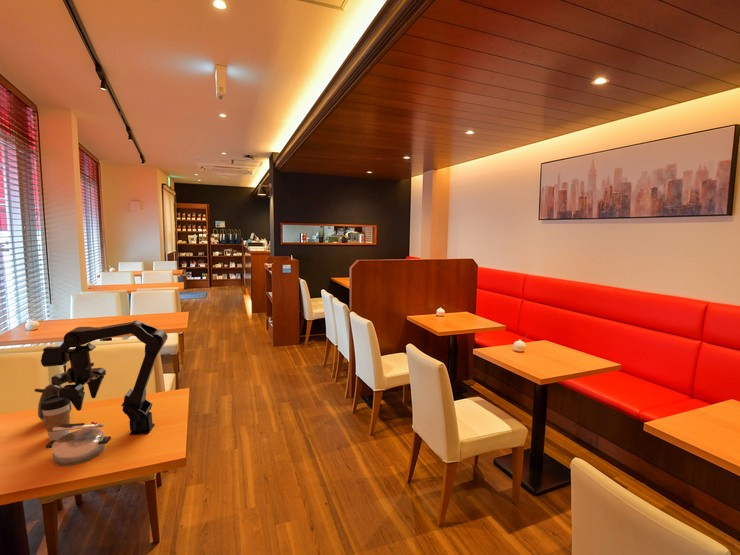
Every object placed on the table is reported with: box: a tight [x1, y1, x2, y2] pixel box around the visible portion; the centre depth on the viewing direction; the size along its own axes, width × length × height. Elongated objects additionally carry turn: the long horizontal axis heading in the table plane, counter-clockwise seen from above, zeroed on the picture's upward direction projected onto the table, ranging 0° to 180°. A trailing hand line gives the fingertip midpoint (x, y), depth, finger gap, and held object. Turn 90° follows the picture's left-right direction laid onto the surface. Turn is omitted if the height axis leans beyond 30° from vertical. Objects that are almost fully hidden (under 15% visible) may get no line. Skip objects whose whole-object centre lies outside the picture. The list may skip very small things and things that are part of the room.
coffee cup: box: [40, 395, 71, 441], centre depth 138 cm, size 8×8×15 cm
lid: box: [53, 421, 105, 431], centre depth 129 cm, size 14×15×2 cm
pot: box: [44, 428, 112, 467], centre depth 129 cm, size 18×14×5 cm
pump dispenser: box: [34, 383, 73, 424], centre depth 148 cm, size 10×10×15 cm
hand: (86, 403), depth 137 cm, fingers open, 9 cm apart
